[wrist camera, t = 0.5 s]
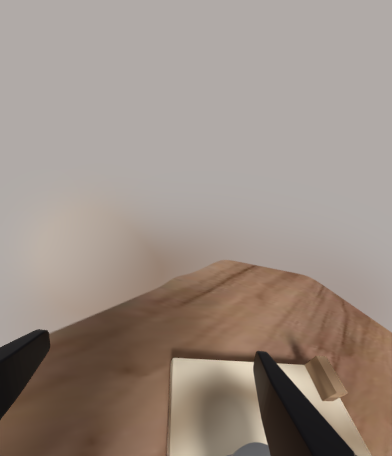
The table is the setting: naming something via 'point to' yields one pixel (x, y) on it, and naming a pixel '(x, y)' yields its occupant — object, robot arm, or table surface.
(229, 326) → the table surface
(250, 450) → the grey rounded knob
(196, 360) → the board
